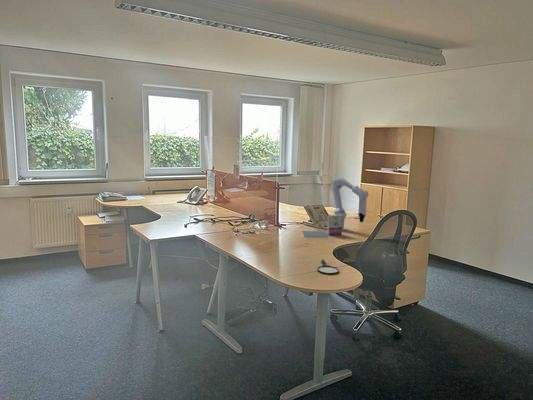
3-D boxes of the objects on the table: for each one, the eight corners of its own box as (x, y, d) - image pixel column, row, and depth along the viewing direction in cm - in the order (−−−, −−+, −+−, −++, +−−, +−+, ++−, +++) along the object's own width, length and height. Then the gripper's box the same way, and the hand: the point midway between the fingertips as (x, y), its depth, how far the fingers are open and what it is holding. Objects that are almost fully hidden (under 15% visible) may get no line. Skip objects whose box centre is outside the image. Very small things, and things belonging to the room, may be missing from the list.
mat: (302, 231, 343) (302, 230, 343) (324, 232, 344) (324, 231, 343) (304, 237, 324) (304, 236, 324) (328, 238, 324) (328, 237, 324)
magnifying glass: (332, 262, 259) (332, 259, 259) (340, 276, 236) (340, 272, 235) (312, 262, 259) (313, 259, 258) (319, 275, 235) (319, 272, 235)
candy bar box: (338, 233, 338) (340, 214, 335) (341, 235, 333) (342, 215, 330) (326, 234, 335) (327, 214, 332) (328, 235, 330) (329, 215, 327)
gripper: (369, 207, 327) (368, 224, 329) (365, 204, 341) (364, 220, 343) (360, 207, 327) (359, 223, 329) (356, 204, 341) (355, 220, 343)
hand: (361, 222), depth 336 cm, fingers closed
